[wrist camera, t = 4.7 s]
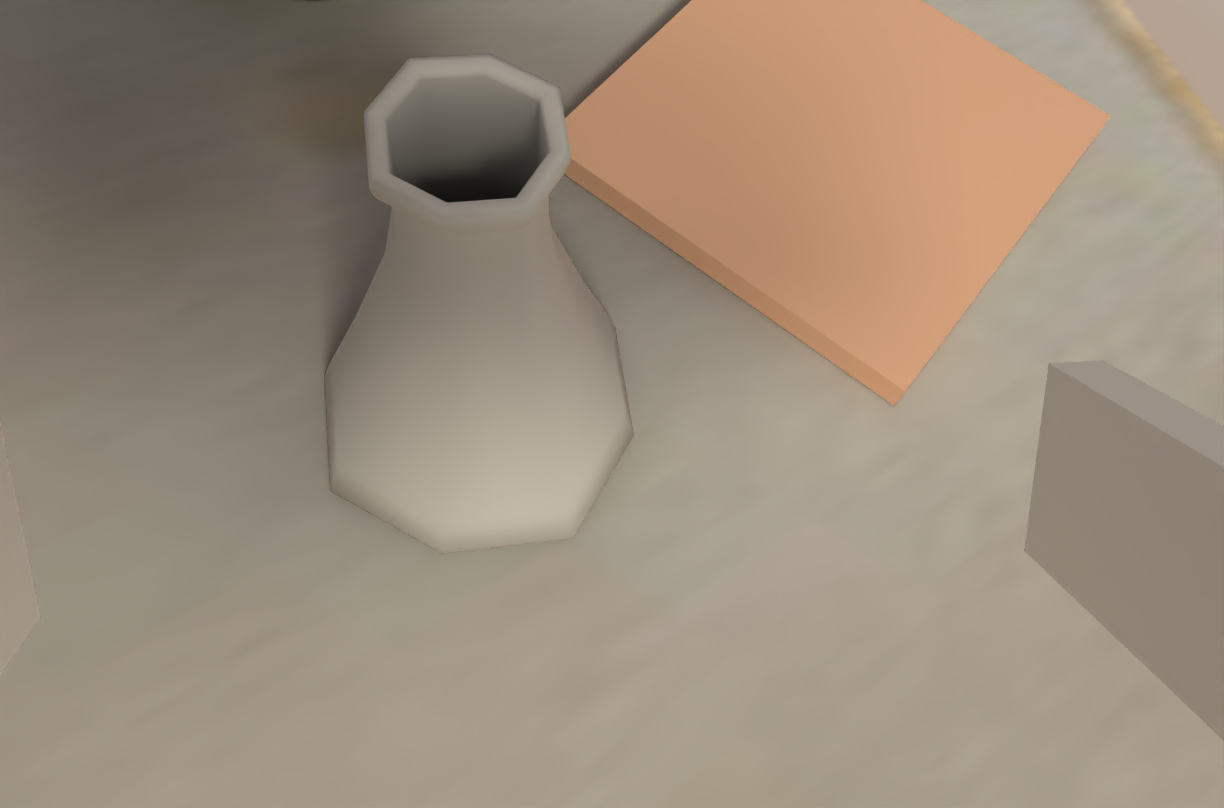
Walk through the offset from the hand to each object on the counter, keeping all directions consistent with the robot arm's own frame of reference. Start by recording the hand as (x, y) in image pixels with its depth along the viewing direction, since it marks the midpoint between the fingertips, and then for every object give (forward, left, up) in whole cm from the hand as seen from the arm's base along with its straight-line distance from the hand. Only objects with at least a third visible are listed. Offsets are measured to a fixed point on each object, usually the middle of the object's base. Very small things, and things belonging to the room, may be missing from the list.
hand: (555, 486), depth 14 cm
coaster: (-3, +16, -10) cm, 19 cm away
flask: (-5, +4, -11) cm, 12 cm away
